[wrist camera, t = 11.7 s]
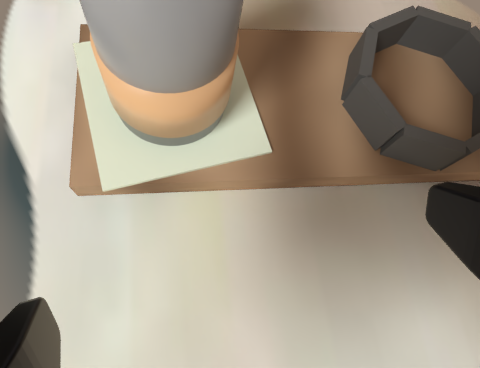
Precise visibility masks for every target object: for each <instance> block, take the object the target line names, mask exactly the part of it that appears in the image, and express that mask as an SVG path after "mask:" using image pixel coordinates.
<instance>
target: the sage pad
mask: <svg viewBox="0 0 480 368" xmlns="http://www.w3.org/2000/svg"><path fill="white" fill-rule="evenodd" d="M73 47H74V52H75V57H76V62H77V67H78V72H79V77H80V82H81V87H82V92H83V96H84V101H85V106H86V111H87V116H88V121H89V126H90V131H91V136H92V141H93V146H94V151H95V156H96V161H97V166H98V171H99V176H100V181H101V186H102V191H103V192H105V191H110V190H114V189H118V188H123V187H127V186H131V185H136V184H140V183H144V182H148V181H153V180H157V179H161V178H166V177H170V176H174V175H179V174H183V173H187V172H191V171H196V170H200V169H204V168H209V167H213V166H217V165H222V164H226V163H230V162H234V161H239V160H243V159H247V158H252V157H256V156H260V155H264V154H269V153H272V149H271V147H270V144H269V141H268V138H267V135H266V133H265V130H264V127H263V124H262V121H261V119H260V116H259V113H258V110H257V107H256V105H255V102H254V99H253V96H252V93H251V91H250V88H249V85H248V82H247V79H246V77H245V74H244V71H243V68H242V65H241V63H240V60H239V57H238V54H237V59H236V64H235V70H234V75H233V81H232V86H231V91H230V97H229V101H228V104H227V106H226V108H225V110H224V113H223V115H222V118H221V120H220V121H219V123H218V124H217V126H216V127H215V128H214V129H213V130H212V131H211V132H210V133H209V134H207V135H206V136H205V137H203V138H201V139H200V140H197V141H195V142H193V143H189V144H186V145H180V146H163V145H158V144H153V143H150V142H147V141H145V140H143V139H141V138H139V137H138V136H136V135H135V134H134V133H132V132H131V131H130V130H129V129H128V128H127V127H126V126H125V125H124V123H123V122H122V120H121V119H120V117H119V115H118V114H117V112H116V111H115V109H114V108H113V105H112V103H111V101H110V98H109V96H108V93H107V90H106V87H105V84H104V82H103V79H102V76H101V73H100V70H99V67H98V65H97V62H96V59H95V56H94V53H93V50H92V47H91V42H90V41H87V42H81V43H74V44H73Z"/></svg>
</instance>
